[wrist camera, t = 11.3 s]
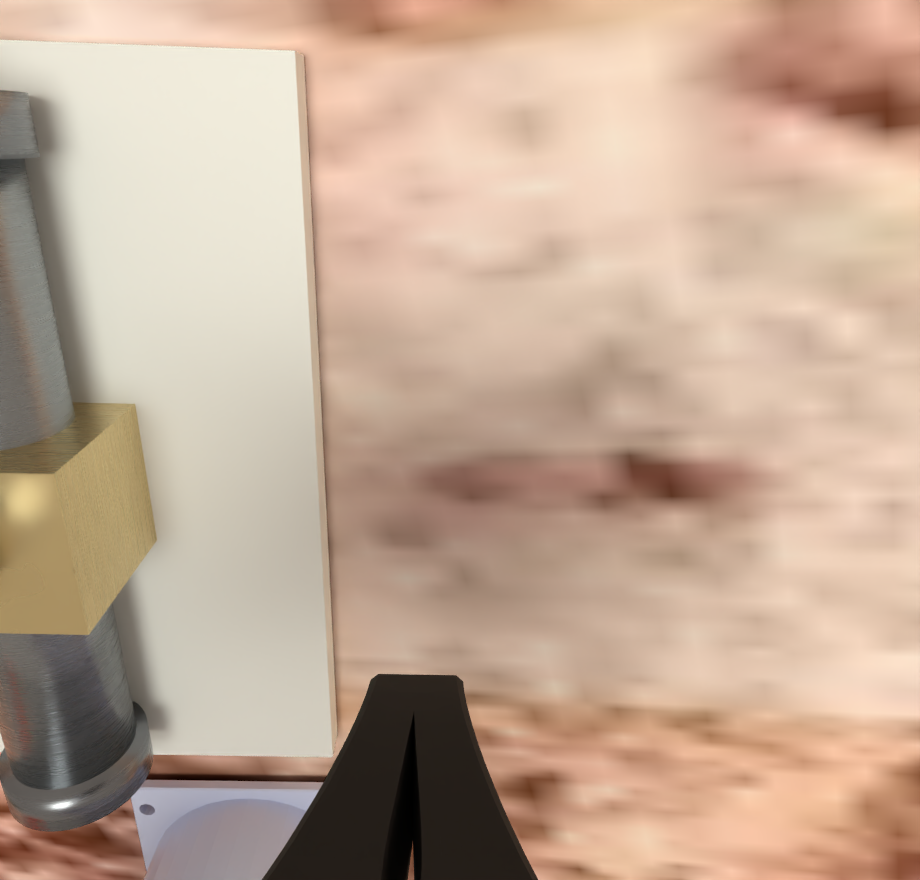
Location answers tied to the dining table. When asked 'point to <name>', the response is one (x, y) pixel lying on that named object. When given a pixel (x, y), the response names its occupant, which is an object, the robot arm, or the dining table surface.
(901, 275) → the dining table surface
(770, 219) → the dining table surface
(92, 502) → the pipe and valve
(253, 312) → the valve board
